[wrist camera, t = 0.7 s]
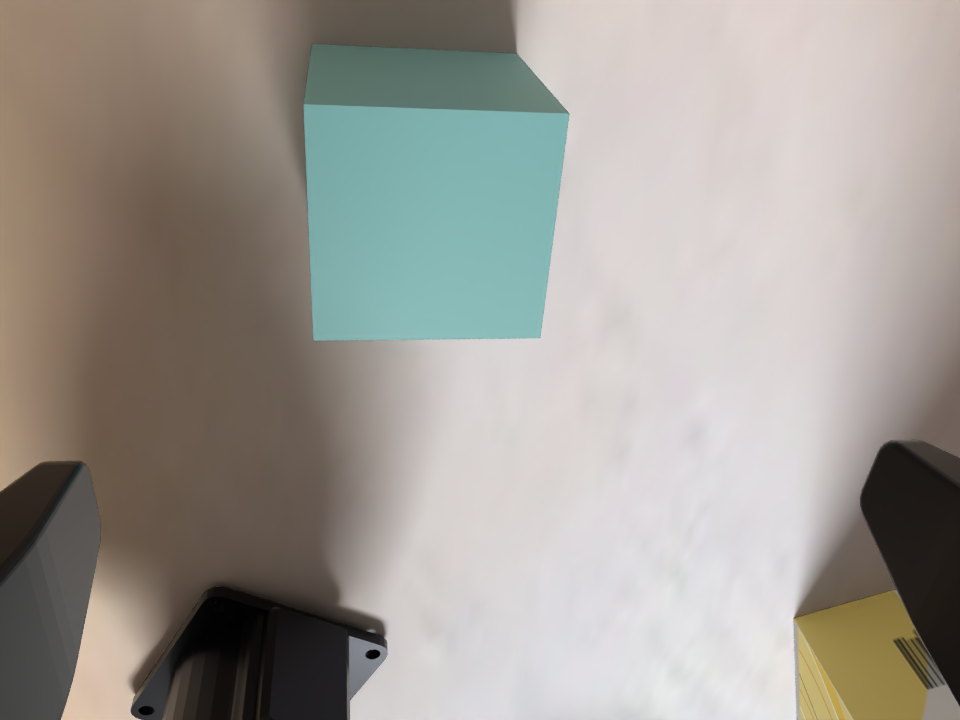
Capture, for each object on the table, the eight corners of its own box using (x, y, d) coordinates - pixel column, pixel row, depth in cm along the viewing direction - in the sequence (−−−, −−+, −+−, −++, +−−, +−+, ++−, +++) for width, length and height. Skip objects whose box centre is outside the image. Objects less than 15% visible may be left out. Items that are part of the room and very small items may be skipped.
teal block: (499, 238, 20) (540, 337, 16) (318, 237, 20) (313, 340, 16) (516, 52, 18) (569, 113, 14) (311, 42, 17) (303, 104, 13)
